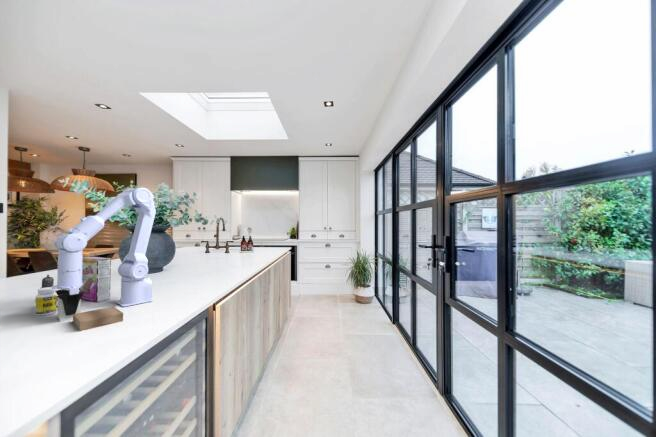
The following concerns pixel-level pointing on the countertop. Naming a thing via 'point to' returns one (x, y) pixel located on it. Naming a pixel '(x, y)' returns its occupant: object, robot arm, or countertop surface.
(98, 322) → the walnut block
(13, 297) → the countertop surface
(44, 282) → the salt shaker
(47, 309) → the supplement bottle
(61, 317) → the white small block
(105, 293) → the candy bar box
